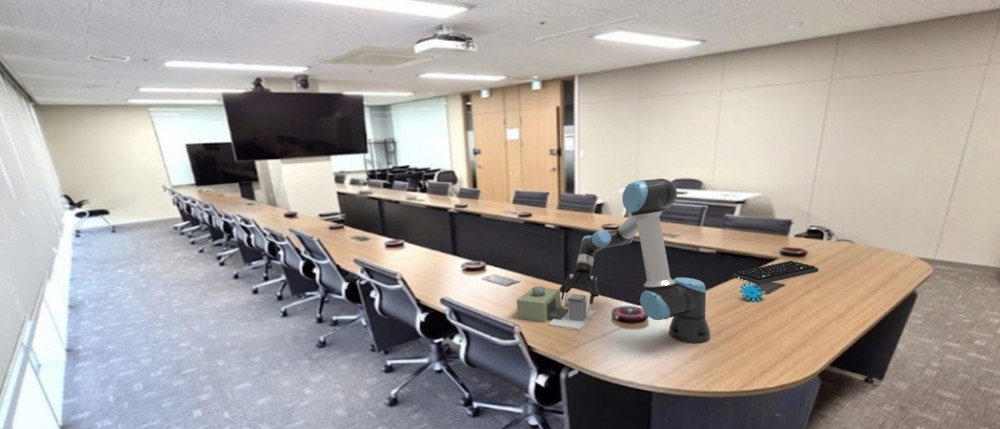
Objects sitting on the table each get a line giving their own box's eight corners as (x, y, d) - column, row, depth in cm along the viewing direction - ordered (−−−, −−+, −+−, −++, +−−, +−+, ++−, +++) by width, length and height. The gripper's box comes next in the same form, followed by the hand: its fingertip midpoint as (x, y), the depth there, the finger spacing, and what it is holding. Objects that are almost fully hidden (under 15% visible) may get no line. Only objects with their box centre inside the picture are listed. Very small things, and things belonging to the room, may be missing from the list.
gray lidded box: (586, 315, 192) (585, 295, 191) (582, 321, 187) (581, 299, 185) (573, 314, 195) (572, 293, 194) (569, 319, 190) (568, 298, 188)
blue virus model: (742, 299, 196) (739, 280, 202) (737, 304, 201) (734, 285, 207) (767, 302, 195) (763, 283, 200) (762, 307, 200) (758, 288, 205)
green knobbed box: (595, 311, 199) (594, 287, 197) (580, 330, 179) (579, 303, 177) (535, 303, 215) (533, 281, 213) (515, 320, 195) (513, 296, 193)
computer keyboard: (758, 286, 219) (758, 278, 218) (733, 278, 234) (733, 271, 233) (818, 272, 233) (818, 265, 232) (790, 265, 248) (790, 259, 247)
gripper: (610, 271, 196) (602, 314, 185) (563, 267, 207) (553, 308, 196) (607, 263, 190) (598, 307, 179) (559, 260, 202) (548, 301, 191)
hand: (575, 308), depth 188 cm, fingers open, 11 cm apart
